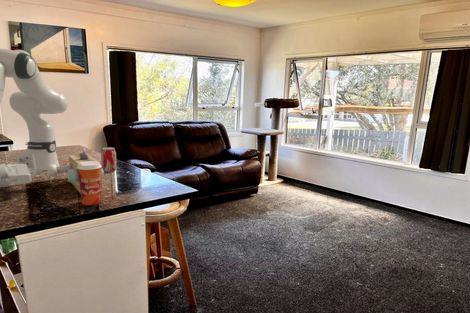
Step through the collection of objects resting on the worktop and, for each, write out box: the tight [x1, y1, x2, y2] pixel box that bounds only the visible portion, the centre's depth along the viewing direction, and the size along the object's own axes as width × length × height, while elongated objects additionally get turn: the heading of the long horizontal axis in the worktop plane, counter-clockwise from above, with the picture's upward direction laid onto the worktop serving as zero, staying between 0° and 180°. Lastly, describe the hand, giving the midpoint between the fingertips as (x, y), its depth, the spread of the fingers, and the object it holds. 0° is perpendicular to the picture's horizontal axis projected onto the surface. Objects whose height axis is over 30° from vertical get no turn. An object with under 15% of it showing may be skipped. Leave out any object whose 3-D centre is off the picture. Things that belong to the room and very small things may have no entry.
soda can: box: [100, 146, 117, 173], centre depth 167 cm, size 7×7×12 cm
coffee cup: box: [77, 161, 102, 206], centre depth 120 cm, size 8×8×15 cm
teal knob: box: [67, 168, 105, 183], centre depth 134 cm, size 13×5×5 cm, turn 127°
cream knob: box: [46, 164, 72, 178], centre depth 141 cm, size 13×5×5 cm, turn 127°
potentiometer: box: [79, 148, 89, 160], centre depth 138 cm, size 3×3×4 cm
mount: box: [68, 153, 103, 194], centre depth 140 cm, size 8×22×12 cm, turn 37°
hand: (41, 171), depth 136 cm, fingers closed
